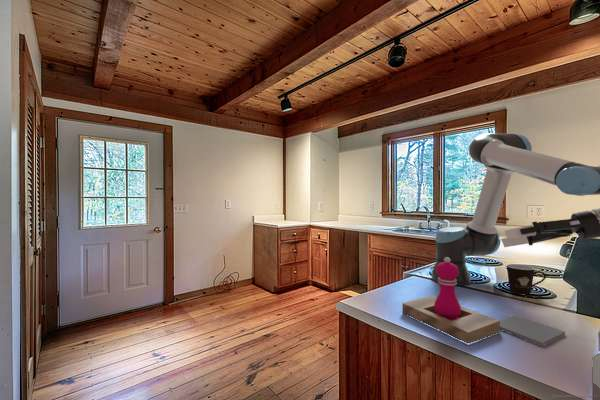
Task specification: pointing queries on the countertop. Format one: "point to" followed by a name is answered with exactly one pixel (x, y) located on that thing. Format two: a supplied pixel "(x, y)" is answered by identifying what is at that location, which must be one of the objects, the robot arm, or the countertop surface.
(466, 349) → the countertop surface
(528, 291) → the coffee mug
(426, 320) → the frame
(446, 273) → the pepper mill
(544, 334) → the grey mat
